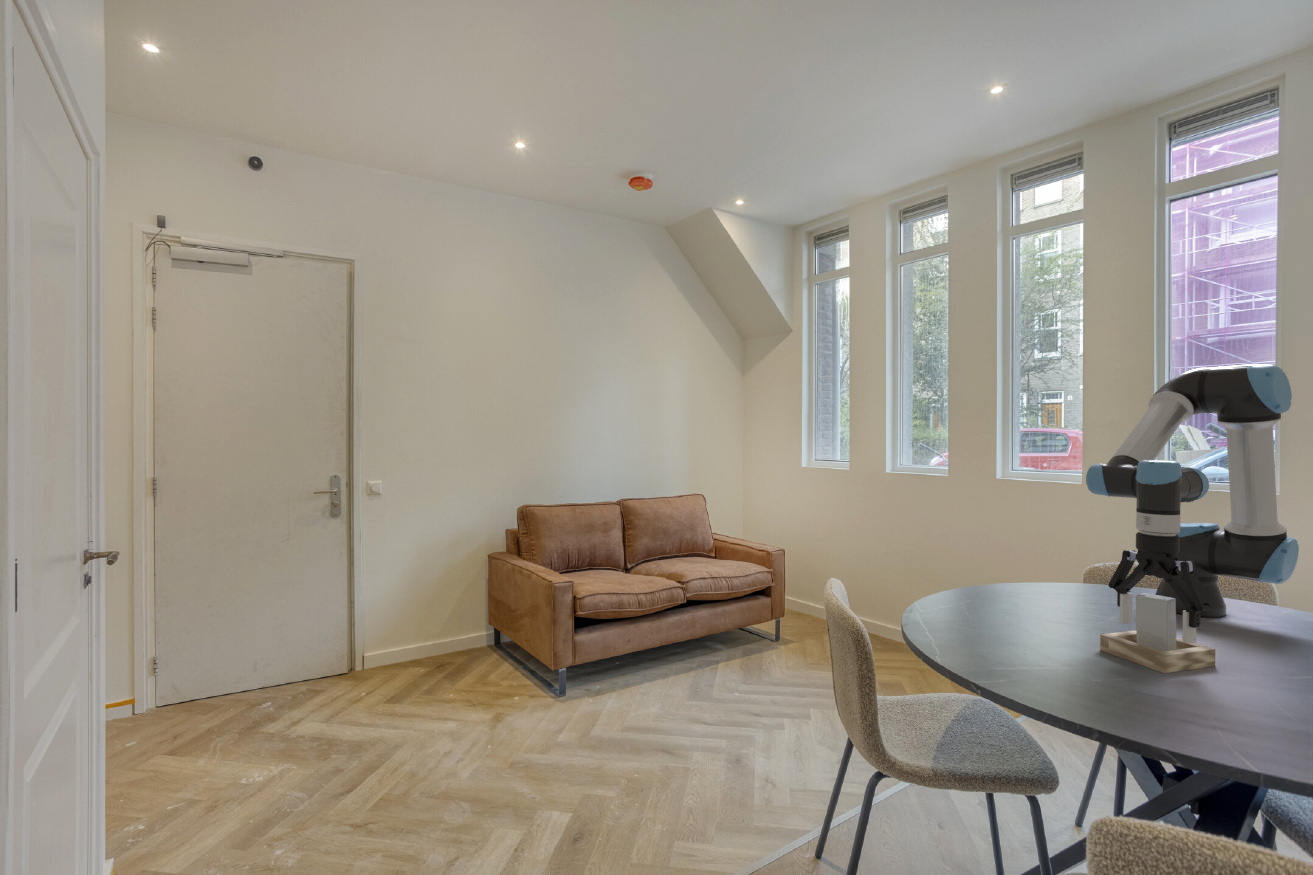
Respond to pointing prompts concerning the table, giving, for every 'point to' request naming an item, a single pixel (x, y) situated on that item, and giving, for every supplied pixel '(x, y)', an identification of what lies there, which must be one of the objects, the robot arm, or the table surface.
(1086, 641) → the table surface
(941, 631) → the table surface
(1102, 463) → the robot arm
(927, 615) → the table surface
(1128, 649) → the holder
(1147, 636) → the skincare box
